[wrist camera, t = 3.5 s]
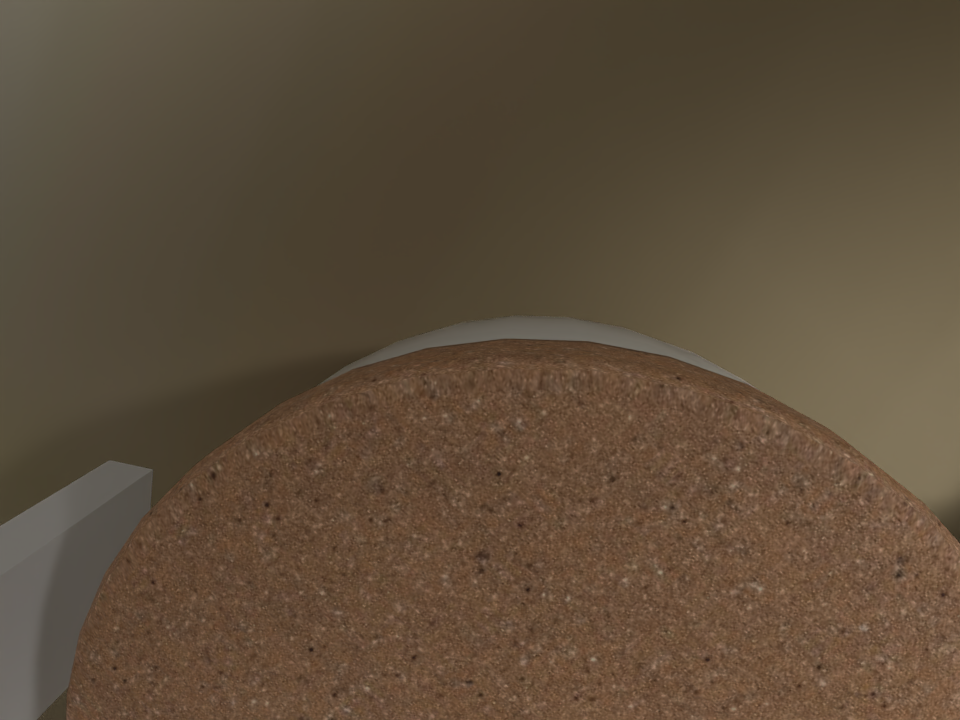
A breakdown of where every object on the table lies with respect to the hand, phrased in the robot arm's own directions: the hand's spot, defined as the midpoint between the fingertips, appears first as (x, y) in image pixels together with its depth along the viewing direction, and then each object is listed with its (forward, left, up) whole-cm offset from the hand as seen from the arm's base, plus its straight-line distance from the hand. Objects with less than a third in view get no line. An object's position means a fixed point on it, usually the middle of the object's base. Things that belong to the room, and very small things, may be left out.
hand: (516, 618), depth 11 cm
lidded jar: (0, 0, -4) cm, 4 cm away
